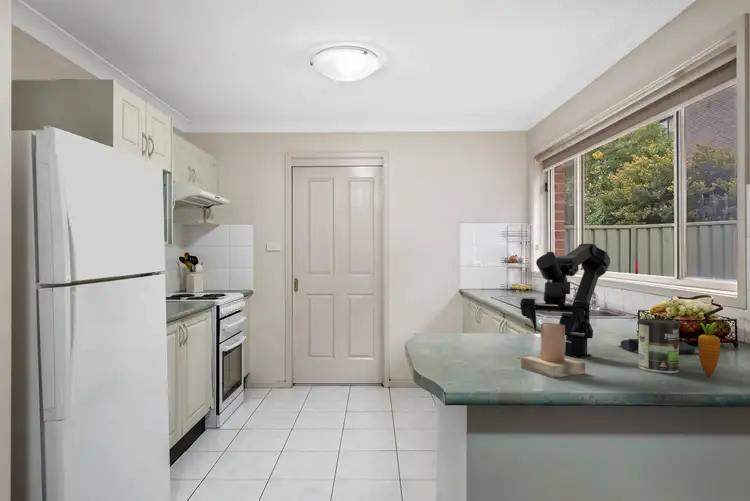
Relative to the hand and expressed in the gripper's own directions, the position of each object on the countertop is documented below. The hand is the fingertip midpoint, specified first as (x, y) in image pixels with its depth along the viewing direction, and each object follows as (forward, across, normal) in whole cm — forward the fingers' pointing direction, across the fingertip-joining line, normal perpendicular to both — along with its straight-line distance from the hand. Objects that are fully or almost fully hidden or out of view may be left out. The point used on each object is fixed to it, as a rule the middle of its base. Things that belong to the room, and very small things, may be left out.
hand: (552, 332), depth 135 cm
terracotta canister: (+5, 0, +7) cm, 8 cm away
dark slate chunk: (-26, +30, +43) cm, 59 cm away
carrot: (-2, +39, +18) cm, 43 cm away
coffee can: (-5, +27, +21) cm, 35 cm away
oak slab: (+7, 0, +9) cm, 11 cm away
